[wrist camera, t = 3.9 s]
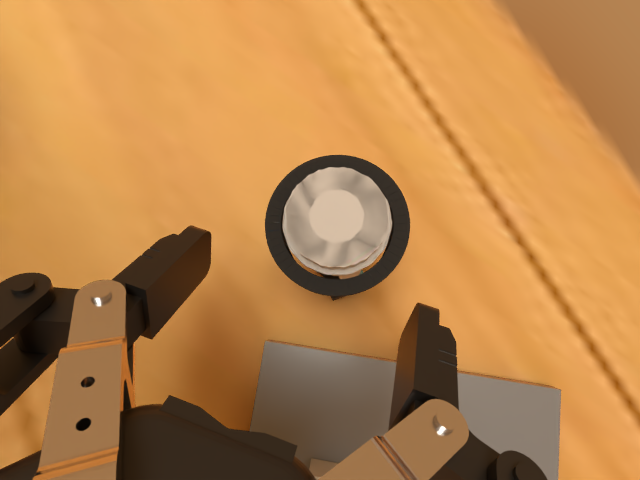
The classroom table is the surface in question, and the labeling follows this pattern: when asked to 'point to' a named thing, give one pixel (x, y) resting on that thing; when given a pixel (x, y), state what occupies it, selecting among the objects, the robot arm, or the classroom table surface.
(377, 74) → the classroom table surface
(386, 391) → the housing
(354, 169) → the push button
